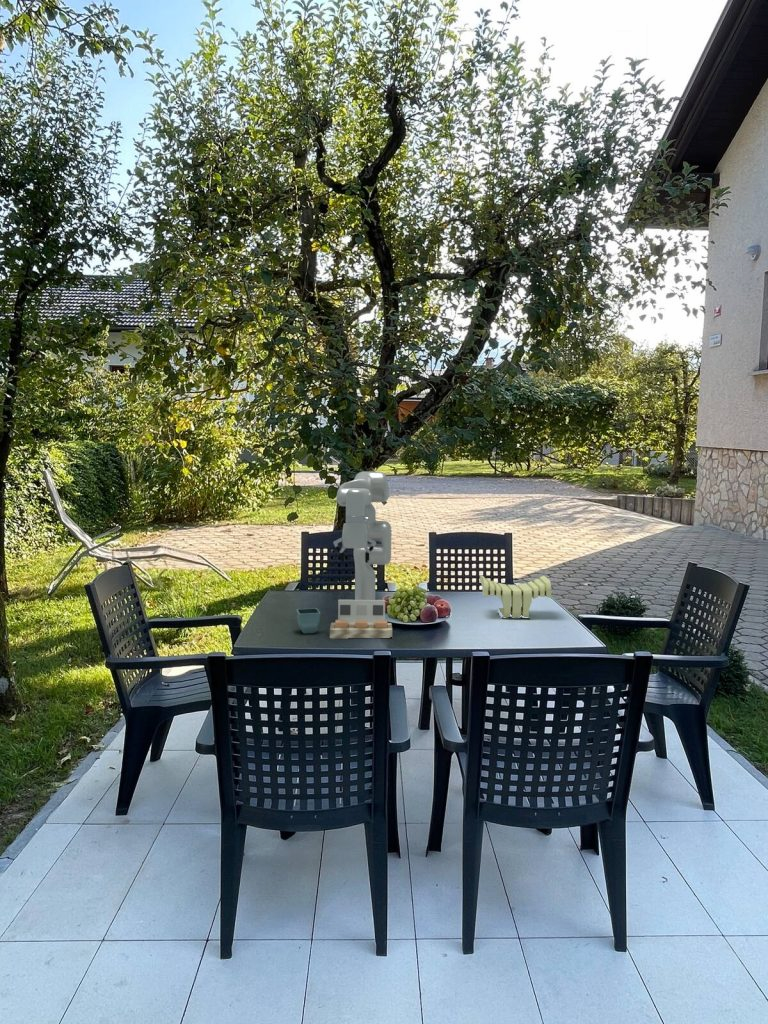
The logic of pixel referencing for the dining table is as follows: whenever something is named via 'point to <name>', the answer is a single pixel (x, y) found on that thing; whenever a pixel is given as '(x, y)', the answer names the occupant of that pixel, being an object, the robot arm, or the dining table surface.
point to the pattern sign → (361, 610)
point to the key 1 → (341, 624)
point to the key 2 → (380, 623)
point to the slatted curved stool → (516, 594)
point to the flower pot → (308, 620)
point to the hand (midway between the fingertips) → (354, 562)
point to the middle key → (360, 623)
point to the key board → (361, 631)
